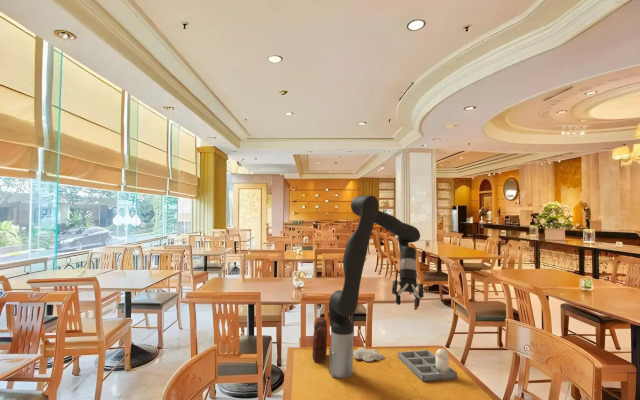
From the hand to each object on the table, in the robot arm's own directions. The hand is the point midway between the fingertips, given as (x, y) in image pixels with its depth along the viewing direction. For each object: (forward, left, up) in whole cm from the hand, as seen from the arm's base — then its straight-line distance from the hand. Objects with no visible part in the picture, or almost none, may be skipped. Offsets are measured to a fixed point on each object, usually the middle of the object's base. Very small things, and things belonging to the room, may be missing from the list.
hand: (407, 305), depth 149 cm
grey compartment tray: (+6, -5, -25) cm, 27 cm away
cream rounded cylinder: (+10, -12, -25) cm, 29 cm away
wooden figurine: (-37, +12, -26) cm, 47 cm away
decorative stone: (-15, +10, -26) cm, 31 cm away
